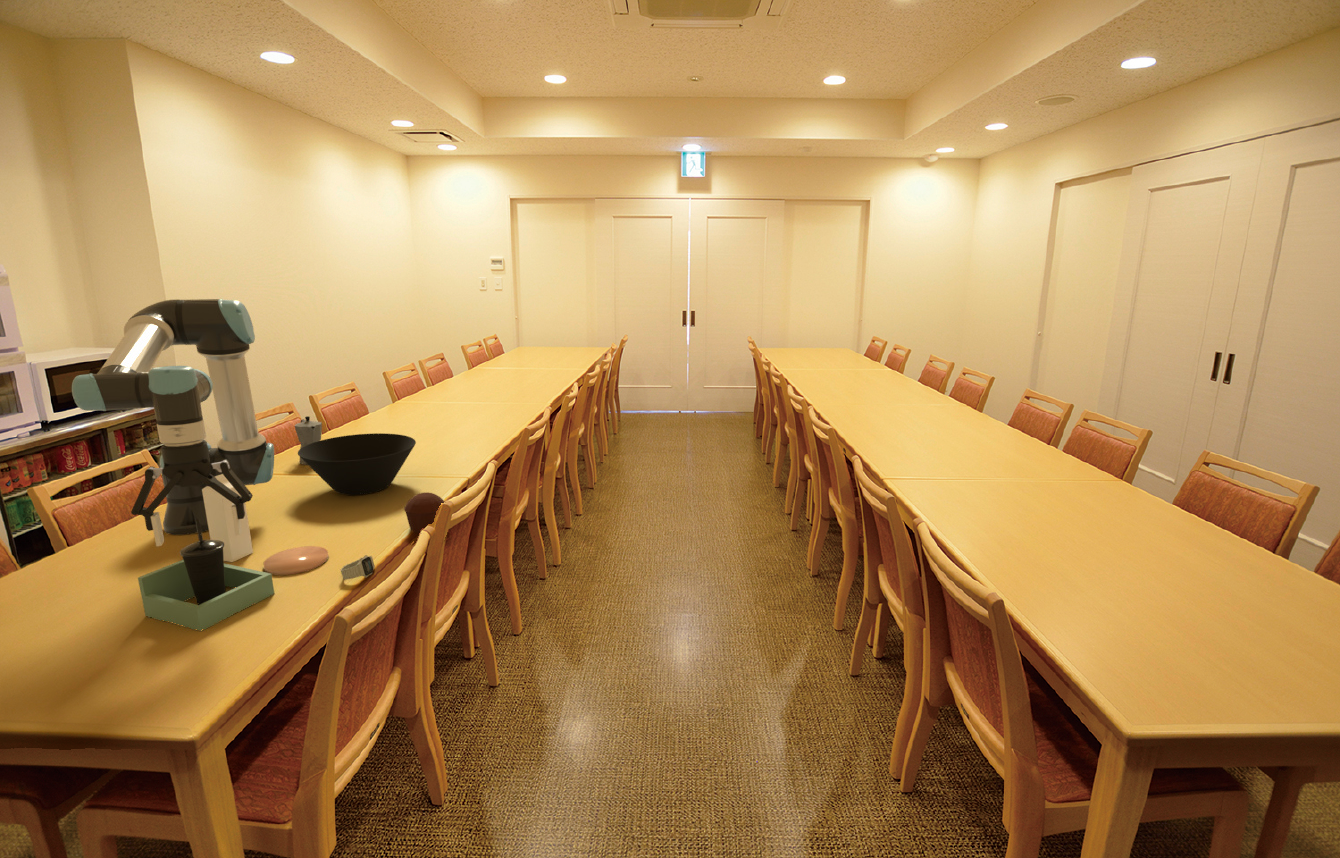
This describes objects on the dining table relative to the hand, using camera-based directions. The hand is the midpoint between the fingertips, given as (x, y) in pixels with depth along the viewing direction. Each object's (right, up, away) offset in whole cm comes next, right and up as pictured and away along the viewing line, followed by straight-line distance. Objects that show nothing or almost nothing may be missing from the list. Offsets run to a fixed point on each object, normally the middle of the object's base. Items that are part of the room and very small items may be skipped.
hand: (200, 538), depth 131 cm
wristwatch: (+24, -12, +19) cm, 33 cm away
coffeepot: (-40, +11, +109) cm, 117 cm away
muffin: (+30, -5, +48) cm, 56 cm away
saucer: (+6, -10, +25) cm, 27 cm away
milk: (-12, -10, +27) cm, 31 cm away
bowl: (-5, +3, +79) cm, 79 cm away
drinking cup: (0, -15, +4) cm, 16 cm away
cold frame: (0, -15, +4) cm, 16 cm away
